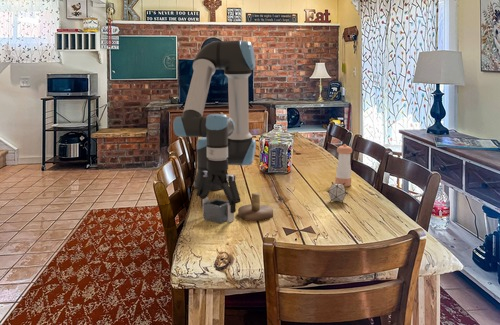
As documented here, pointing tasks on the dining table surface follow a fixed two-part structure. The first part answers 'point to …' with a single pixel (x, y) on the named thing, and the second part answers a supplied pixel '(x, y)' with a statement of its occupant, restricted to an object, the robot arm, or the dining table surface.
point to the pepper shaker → (343, 166)
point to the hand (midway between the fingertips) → (218, 218)
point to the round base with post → (255, 210)
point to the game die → (337, 192)
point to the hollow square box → (216, 210)
